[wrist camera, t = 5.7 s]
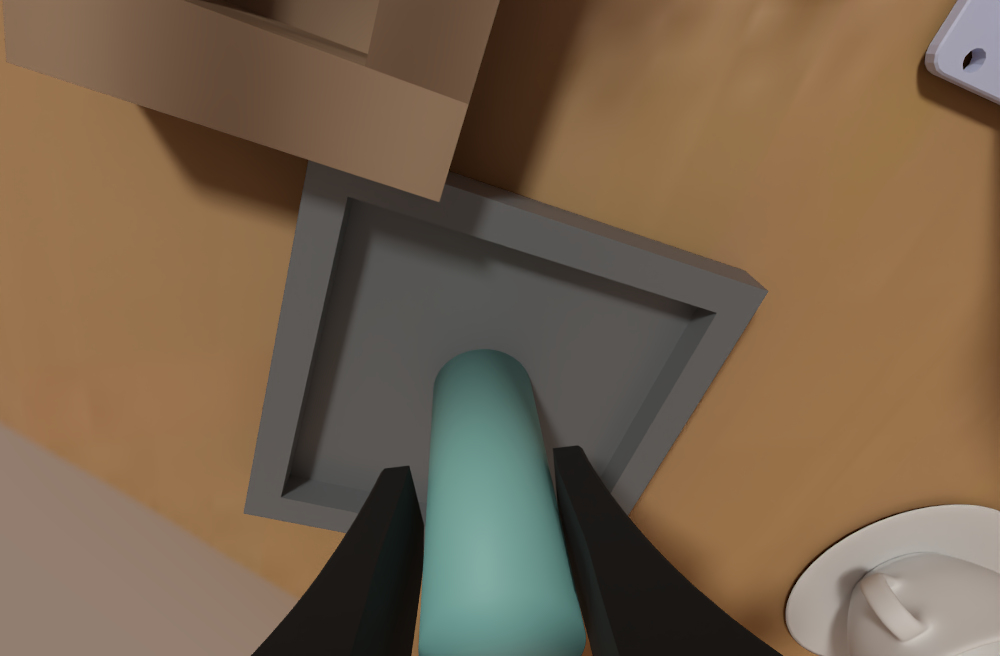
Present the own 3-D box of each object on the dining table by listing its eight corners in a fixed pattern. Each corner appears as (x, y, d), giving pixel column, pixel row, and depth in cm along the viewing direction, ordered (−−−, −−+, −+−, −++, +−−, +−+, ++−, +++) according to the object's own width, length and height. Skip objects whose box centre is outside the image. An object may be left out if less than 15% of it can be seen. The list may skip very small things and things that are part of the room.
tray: (745, 270, 16) (768, 291, 15) (581, 547, 21) (588, 579, 20) (326, 130, 13) (312, 139, 12) (258, 481, 19) (243, 513, 17)
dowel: (523, 340, 16) (577, 580, 9) (536, 421, 18) (592, 680, 11) (423, 359, 16) (399, 611, 9) (444, 437, 18) (438, 707, 11)
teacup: (1061, 562, 23) (1187, 676, 19) (861, 674, 27) (932, 791, 23) (945, 454, 20) (1068, 564, 16) (732, 598, 23) (788, 719, 19)
